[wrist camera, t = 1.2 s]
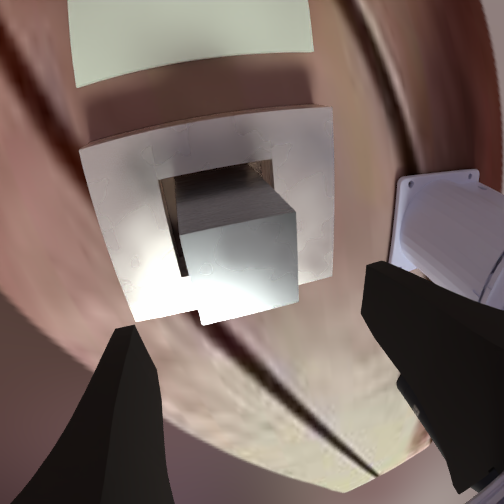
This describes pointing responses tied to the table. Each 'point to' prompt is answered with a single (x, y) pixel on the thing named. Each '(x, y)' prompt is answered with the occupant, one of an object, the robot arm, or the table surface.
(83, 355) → the table surface
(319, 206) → the socket block
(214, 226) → the peg
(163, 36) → the pad
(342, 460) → the table surface
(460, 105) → the table surface
